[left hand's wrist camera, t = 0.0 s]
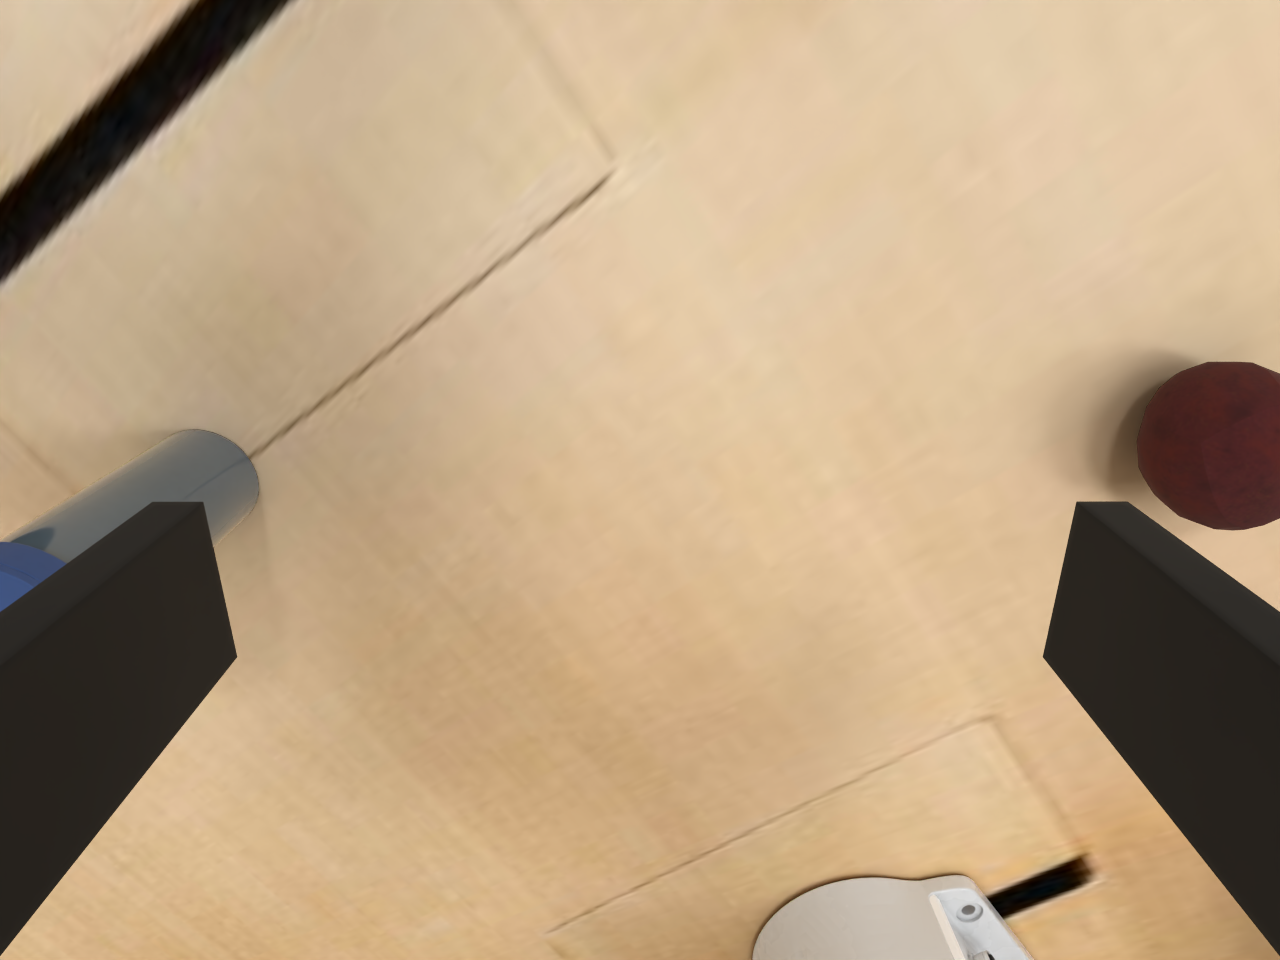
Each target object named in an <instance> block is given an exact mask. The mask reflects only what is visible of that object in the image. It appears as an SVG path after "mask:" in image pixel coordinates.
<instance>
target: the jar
mask: <svg viewBox="0 0 1280 960" xmlns="http://www.w3.org/2000/svg"><path fill="white" fill-rule="evenodd" d="M258 492H259V483H258V478H257V474H256V471H255V469H254V467H253V465H252V463H251V461H250V460H249V458H248V457H247V456H246V454H245V453H244V452H243V451H242V450H241V449H240V448H239V447H238V446H237V445H235V444H234V443H233V442H231V441H230V440H228V439H227V438H225V437H223V436H221V435H218V434H215V433H212V432H208V431H203V430H186V431H181V432H177V433H175V434H173V435H171V436H169V437H167V438H166V439H164V440H163V441H161V442H159V443H158V444H156V445H154V446H153V447H151V448H149V449H148V450H146V451H145V452H143V453H141V454H140V455H138V456H136V457H135V458H133V459H131V460H130V461H128V462H127V463H125V464H123V465H122V466H120V467H118V468H117V469H115V470H113V471H112V472H110V473H109V474H107V475H105V476H104V477H102V478H100V479H99V480H97V481H95V482H94V483H92V484H91V485H89V486H87V487H86V488H84V489H82V490H81V491H79V492H77V493H76V494H74V495H73V496H71V497H69V498H68V499H66V500H64V501H63V502H61V503H59V504H58V505H56V506H55V507H53V508H51V509H50V510H48V511H46V512H45V513H43V514H41V515H40V516H38V517H37V518H35V519H33V520H32V521H30V522H28V523H27V524H25V525H23V526H22V527H20V528H19V529H17V530H15V531H14V532H12V533H10V534H9V535H7V536H5V537H4V538H2V539H1V540H0V542H11V543H19V544H23V545H27V546H31V547H34V548H37V549H40V550H43V551H45V552H47V553H49V554H51V555H53V556H55V557H57V558H59V559H60V560H62V561H64V562H65V563H69V562H70V561H71V560H73V559H74V558H75V557H77V556H78V555H80V554H81V553H82V552H84V551H85V550H86V549H88V548H89V547H91V546H92V545H93V544H95V543H96V542H98V541H99V540H100V539H102V538H103V537H104V536H106V535H107V534H109V533H110V532H111V531H113V530H114V529H115V528H117V527H118V526H120V525H121V524H122V523H124V522H125V521H126V520H128V519H129V518H131V517H132V516H133V515H135V514H136V513H138V512H139V511H140V510H142V509H143V508H144V507H146V506H147V505H149V504H150V503H151V502H204V507H205V511H206V516H207V521H208V525H209V530H210V534H211V539H212V544H213V548H214V547H215V546H216V545H217V544H218V543H219V542H220V541H221V540H222V539H223V538H225V537H226V536H227V535H228V534H229V533H230V532H231V531H232V530H233V529H234V528H235V527H236V526H237V525H238V524H239V523H241V522H242V521H243V520H244V519H245V518H246V517H247V516H248V515H249V514H250V513H251V511H252V510H253V508H254V506H255V504H256V502H257V498H258Z"/></svg>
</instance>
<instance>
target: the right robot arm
mask: <svg viewBox="0 0 1280 960" xmlns="http://www.w3.org/2000/svg"><path fill="white" fill-rule="evenodd" d="M752 960H1034V958H1033V957H1032V956H1031V955H1030V953H1029V952H1028V951H1027V949H1026V948H1025V947H1024V946H1023V944H1022V943H1021V942H1020V940H1019V939H1018V938H1017V937H1016V935H1015V934H1014V933H1013V931H1012V930H1011V929H1010V928H1009V926H1008V925H1007V924H1006V922H1005V921H1004V920H1003V918H1002V917H1001V916H1000V915H999V913H998V912H997V911H996V909H995V908H994V907H993V906H992V904H991V903H990V902H989V900H988V899H987V898H986V897H985V895H984V894H983V893H982V891H981V890H980V889H979V888H978V886H977V885H976V884H975V882H974V881H973V880H972V879H970V878H969V877H966V876H963V875H950V876H942V877H937V878H931V879H926V880H921V881H910V880H900V879H891V878H876V877H870V878H856V879H848V880H843V881H838V882H834V883H830V884H827V885H824V886H821V887H818V888H816V889H813V890H811V891H809V892H806V893H804V894H803V895H801V896H799V897H797V898H795V899H794V900H792V901H791V902H789V903H788V904H786V905H785V906H784V907H782V908H781V909H780V910H779V911H778V912H777V913H776V914H775V915H774V916H773V917H772V918H771V919H770V920H769V921H768V922H767V924H766V925H765V926H764V928H763V929H762V931H761V933H760V934H759V936H758V939H757V941H756V944H755V946H754V950H753V957H752Z"/></svg>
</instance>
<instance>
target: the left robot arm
mask: <svg viewBox="0 0 1280 960" xmlns="http://www.w3.org/2000/svg"><path fill="white" fill-rule="evenodd" d="M236 658H237V654H236V649H235V645H234V640H233V636H232V631H231V626H230V622H229V617H228V613H227V608H226V603H225V599H224V594H223V590H222V585H221V580H220V576H219V571H218V567H217V562H216V557H215V553H214V548H213V544H212V539H211V534H210V530H209V525H208V521H207V516H206V511H205V507H204V502H151V503H150V504H149V505H147V506H146V507H144V508H143V509H142V510H140V511H139V512H138V513H136V514H135V515H133V516H132V517H131V518H129V519H128V520H126V521H125V522H124V523H122V524H121V525H120V526H118V527H117V528H115V529H114V530H113V531H111V532H110V533H109V534H107V535H106V536H104V537H103V538H102V539H100V540H99V541H98V542H96V543H95V544H93V545H92V546H91V547H89V548H88V549H86V550H85V551H84V552H82V553H81V554H80V555H78V556H77V557H75V558H74V559H73V560H71V561H70V562H69V563H67V564H66V565H64V566H63V567H62V568H60V569H59V570H57V571H56V572H55V573H53V574H52V575H51V576H49V577H48V578H46V579H45V580H44V581H42V582H41V583H40V584H38V585H37V586H35V587H34V588H33V589H31V590H30V591H28V592H27V593H26V594H24V595H23V596H22V597H20V598H19V599H17V600H16V601H15V602H13V603H12V604H11V605H9V606H8V607H6V608H5V609H4V610H2V611H1V612H0V956H1V954H2V953H3V952H4V951H5V949H6V948H7V947H8V945H9V944H10V943H11V942H12V940H13V939H14V938H15V937H16V935H17V934H18V933H19V932H20V930H21V929H22V928H23V927H24V925H25V924H26V923H27V922H28V920H29V919H30V918H31V916H32V915H33V914H34V913H35V911H36V910H37V909H38V908H39V906H40V905H41V904H42V903H43V901H44V900H45V899H46V898H47V896H48V895H49V894H50V892H51V891H52V890H53V889H54V887H55V886H56V885H57V884H58V882H59V881H60V880H61V879H62V877H63V876H64V875H65V874H66V872H67V871H68V870H69V869H70V867H71V866H72V865H73V863H74V862H75V861H76V860H77V858H78V857H79V856H80V855H81V853H82V852H83V851H84V850H85V848H86V847H87V846H88V845H89V843H90V842H91V841H92V839H93V838H94V837H95V836H96V834H97V833H98V832H99V831H100V829H101V828H102V827H103V826H104V824H105V823H106V822H107V821H108V819H109V818H110V817H111V816H112V814H113V813H114V812H115V810H116V809H117V808H118V807H119V805H120V804H121V803H122V802H123V800H124V799H125V798H126V797H127V795H128V794H129V793H130V792H131V790H132V789H133V788H134V786H135V785H136V784H137V783H138V781H139V780H140V779H141V778H142V776H143V775H144V774H145V773H146V771H147V770H148V769H149V768H150V766H151V765H152V764H153V763H154V761H155V760H156V759H157V757H158V756H159V755H160V754H161V752H162V751H163V750H164V749H165V747H166V746H167V745H168V744H169V742H170V741H171V740H172V739H173V737H174V736H175V735H176V733H177V732H178V731H179V730H180V728H181V727H182V726H183V725H184V723H185V722H186V721H187V720H188V718H189V717H190V716H191V715H192V713H193V712H194V711H195V710H196V708H197V707H198V706H199V704H200V703H201V702H202V701H203V699H204V698H205V697H206V696H207V694H208V693H209V692H210V691H211V689H212V688H213V687H214V686H215V684H216V683H217V682H218V680H219V679H220V678H221V677H222V675H223V674H224V673H225V672H226V670H227V669H228V668H229V667H230V665H231V664H232V663H233V662H234V660H235V659H236ZM1043 658H1044V659H1045V660H1046V662H1047V663H1048V664H1049V665H1050V667H1051V668H1052V669H1053V670H1054V672H1055V673H1056V674H1057V675H1058V677H1059V678H1060V679H1061V680H1062V682H1063V683H1064V684H1065V686H1066V687H1067V688H1068V689H1069V691H1070V692H1071V693H1072V694H1073V696H1074V697H1075V698H1076V699H1077V701H1078V702H1079V703H1080V704H1081V706H1082V707H1083V708H1084V710H1085V711H1086V712H1087V713H1088V715H1089V716H1090V717H1091V718H1092V720H1093V721H1094V722H1095V723H1096V725H1097V726H1098V727H1099V728H1100V730H1101V731H1102V732H1103V733H1104V735H1105V736H1106V737H1107V739H1108V740H1109V741H1110V742H1111V744H1112V745H1113V746H1114V747H1115V749H1116V750H1117V751H1118V752H1119V754H1120V755H1121V756H1122V757H1123V759H1124V760H1125V761H1126V763H1127V764H1128V765H1129V766H1130V768H1131V769H1132V770H1133V771H1134V773H1135V774H1136V775H1137V776H1138V778H1139V779H1140V780H1141V781H1142V783H1143V784H1144V785H1145V786H1146V788H1147V789H1148V790H1149V792H1150V793H1151V794H1152V795H1153V797H1154V798H1155V799H1156V800H1157V802H1158V803H1159V804H1160V805H1161V807H1162V808H1163V809H1164V810H1165V812H1166V813H1167V814H1168V816H1169V817H1170V818H1171V819H1172V821H1173V822H1174V823H1175V824H1176V826H1177V827H1178V828H1179V829H1180V831H1181V832H1182V833H1183V834H1184V836H1185V837H1186V838H1187V839H1188V841H1189V842H1190V843H1191V845H1192V846H1193V847H1194V848H1195V850H1196V851H1197V852H1198V853H1199V855H1200V856H1201V857H1202V858H1203V860H1204V861H1205V862H1206V863H1207V865H1208V866H1209V867H1210V869H1211V870H1212V871H1213V872H1214V874H1215V875H1216V876H1217V877H1218V879H1219V880H1220V881H1221V882H1222V884H1223V885H1224V886H1225V887H1226V889H1227V890H1228V891H1229V892H1230V894H1231V895H1232V896H1233V898H1234V899H1235V900H1236V901H1237V903H1238V904H1239V905H1240V906H1241V908H1242V909H1243V910H1244V911H1245V913H1246V914H1247V915H1248V916H1249V918H1250V919H1251V920H1252V922H1253V923H1254V924H1255V925H1256V927H1257V928H1258V929H1259V930H1260V932H1261V933H1262V934H1263V935H1264V937H1265V938H1266V939H1267V940H1268V942H1269V943H1270V944H1271V946H1272V947H1273V948H1274V949H1275V951H1276V952H1277V953H1278V954H1279V956H1280V612H1279V611H1278V610H1276V609H1275V608H1274V607H1272V606H1271V605H1269V604H1268V603H1267V602H1265V601H1264V600H1263V599H1261V598H1260V597H1258V596H1257V595H1256V594H1254V593H1253V592H1252V591H1250V590H1249V589H1247V588H1246V587H1245V586H1243V585H1242V584H1240V583H1239V582H1238V581H1236V580H1235V579H1234V578H1232V577H1231V576H1229V575H1228V574H1227V573H1225V572H1224V571H1223V570H1221V569H1220V568H1218V567H1217V566H1216V565H1214V564H1213V563H1211V562H1210V561H1209V560H1207V559H1206V558H1205V557H1203V556H1202V555H1200V554H1199V553H1198V552H1196V551H1195V550H1194V549H1192V548H1191V547H1189V546H1188V545H1187V544H1185V543H1184V542H1182V541H1181V540H1180V539H1178V538H1177V537H1176V536H1174V535H1173V534H1171V533H1170V532H1169V531H1167V530H1166V529H1165V528H1163V527H1162V526H1160V525H1159V524H1158V523H1156V522H1155V521H1154V520H1152V519H1151V518H1149V517H1148V516H1147V515H1145V514H1144V513H1142V512H1141V511H1140V510H1138V509H1137V508H1136V507H1134V506H1133V505H1131V504H1130V503H1129V502H1076V507H1075V511H1074V516H1073V521H1072V525H1071V530H1070V534H1069V539H1068V544H1067V548H1066V553H1065V557H1064V562H1063V567H1062V571H1061V576H1060V580H1059V585H1058V590H1057V594H1056V599H1055V603H1054V608H1053V613H1052V617H1051V622H1050V626H1049V631H1048V636H1047V640H1046V645H1045V649H1044V654H1043Z"/></svg>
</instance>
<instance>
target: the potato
mask: <svg viewBox="0 0 1280 960" xmlns="http://www.w3.org/2000/svg"><path fill="white" fill-rule="evenodd" d="M1137 449H1138V465H1139V469H1140V471H1141V473H1142V475H1143V477H1144V479H1145V480H1146V482H1147V484H1148V485H1149V487H1150V488H1151V490H1152V492H1153V493H1154V495H1156V496H1157V497H1158V498H1159V499H1160V500H1161V501H1162V502H1163V503H1164V504H1165V505H1167V506H1168V507H1169V508H1170V509H1171V510H1172V511H1174V512H1175V513H1176V514H1177V515H1178V516H1180V517H1183V518H1186V519H1188V520H1191V521H1194V522H1196V523H1199V524H1202V525H1204V526H1207V527H1210V528H1213V529H1222V530H1244V529H1249V528H1253V527H1258V526H1262V525H1265V524H1268V523H1270V522H1272V521H1275V520H1277V519H1279V518H1280V374H1279V373H1277V372H1274V371H1272V370H1269V369H1267V368H1264V367H1262V366H1259V365H1257V364H1254V363H1249V362H1206V363H1204V364H1201V365H1198V366H1195V367H1192V368H1189V369H1187V370H1184V371H1181V372H1179V373H1177V374H1176V375H1175V376H1173V377H1172V378H1171V379H1170V380H1168V381H1167V382H1166V383H1165V384H1164V385H1162V386H1161V387H1160V388H1159V389H1158V390H1157V392H1156V393H1155V395H1154V396H1153V398H1152V399H1151V401H1150V402H1149V404H1148V405H1147V407H1146V411H1145V414H1144V417H1143V421H1142V424H1141V427H1140V431H1139V435H1138V439H1137Z"/></svg>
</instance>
